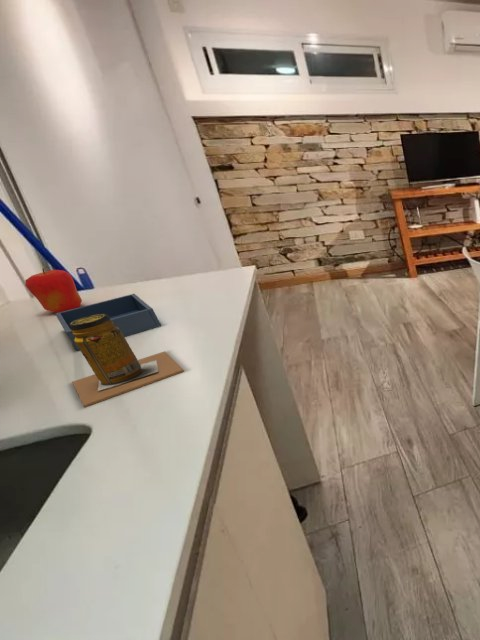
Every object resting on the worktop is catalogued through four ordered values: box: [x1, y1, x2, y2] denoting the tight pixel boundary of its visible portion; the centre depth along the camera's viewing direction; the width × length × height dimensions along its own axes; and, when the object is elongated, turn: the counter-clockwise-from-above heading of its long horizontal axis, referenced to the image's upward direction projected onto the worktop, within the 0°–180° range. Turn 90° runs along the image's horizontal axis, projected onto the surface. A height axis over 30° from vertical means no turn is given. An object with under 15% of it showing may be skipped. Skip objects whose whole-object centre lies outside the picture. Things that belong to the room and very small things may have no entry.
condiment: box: [69, 314, 158, 391], centre depth 86 cm, size 7×8×12 cm
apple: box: [24, 267, 83, 314], centre depth 125 cm, size 9×8×12 cm
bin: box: [54, 293, 162, 352], centre depth 112 cm, size 15×20×4 cm
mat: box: [71, 350, 185, 408], centre depth 89 cm, size 14×14×1 cm
